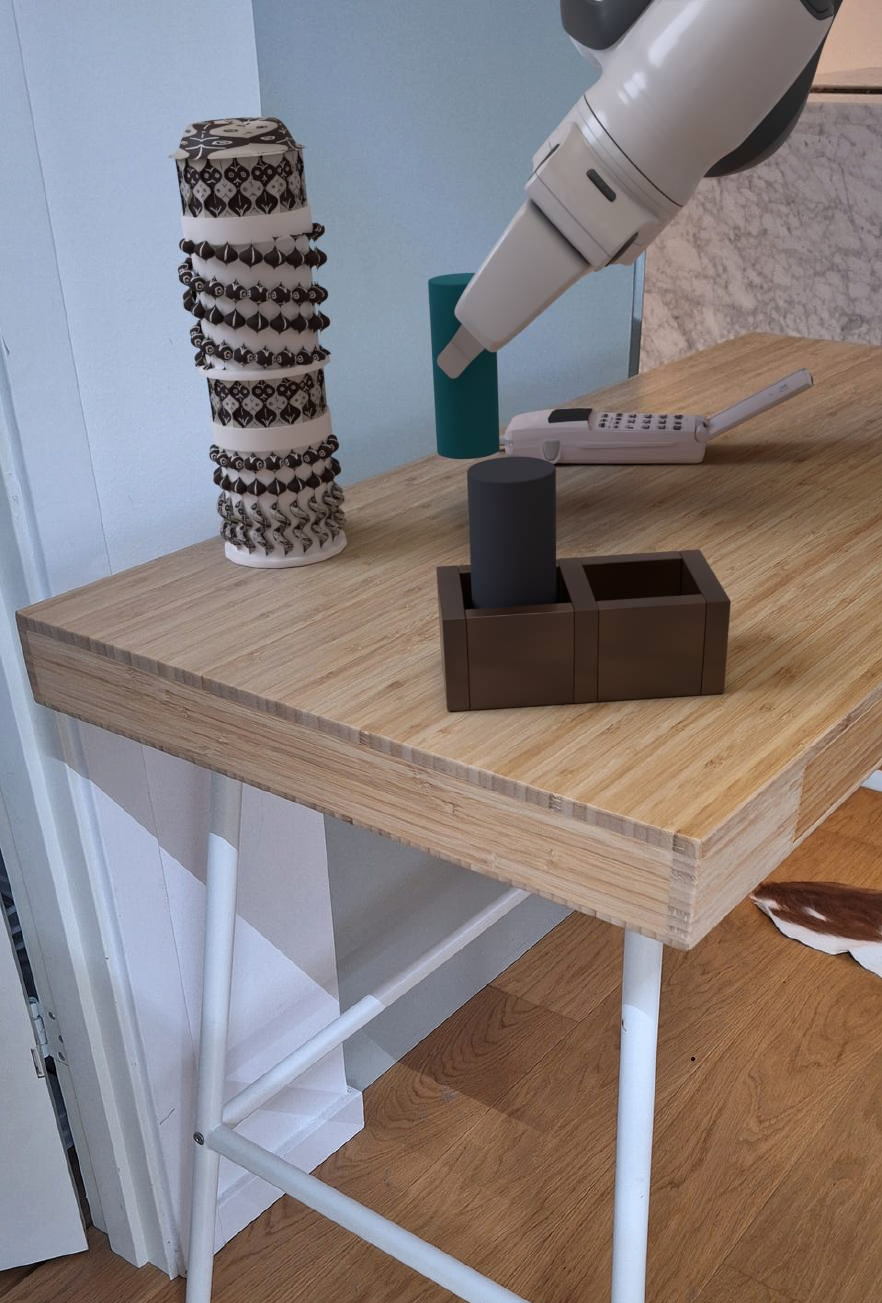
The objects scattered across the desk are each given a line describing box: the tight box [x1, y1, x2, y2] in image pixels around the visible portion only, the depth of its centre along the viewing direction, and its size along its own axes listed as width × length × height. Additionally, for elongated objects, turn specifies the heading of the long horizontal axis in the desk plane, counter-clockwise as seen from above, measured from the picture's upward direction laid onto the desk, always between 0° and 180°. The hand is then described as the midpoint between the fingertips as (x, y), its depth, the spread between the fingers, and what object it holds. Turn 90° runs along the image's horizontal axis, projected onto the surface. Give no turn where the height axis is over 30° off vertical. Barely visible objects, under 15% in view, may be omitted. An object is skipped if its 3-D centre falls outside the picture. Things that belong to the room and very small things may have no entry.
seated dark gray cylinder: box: [466, 456, 557, 609], centre depth 70 cm, size 4×4×11 cm
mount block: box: [435, 549, 732, 712], centre depth 72 cm, size 14×8×5 cm, turn 92°
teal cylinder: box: [427, 272, 501, 460], centre depth 92 cm, size 4×4×11 cm
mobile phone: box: [499, 366, 814, 465], centre depth 104 cm, size 6×6×25 cm
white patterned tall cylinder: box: [168, 116, 348, 569], centre depth 85 cm, size 9×9×25 cm
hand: (455, 360), depth 91 cm, fingers closed on teal cylinder, 4 cm apart
